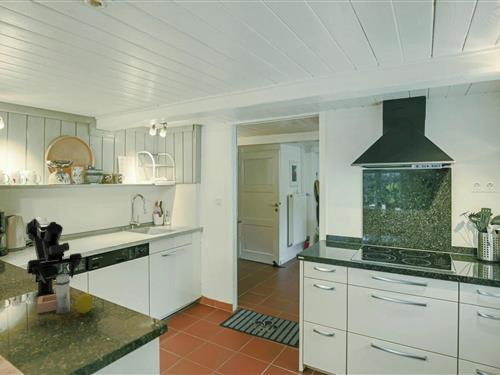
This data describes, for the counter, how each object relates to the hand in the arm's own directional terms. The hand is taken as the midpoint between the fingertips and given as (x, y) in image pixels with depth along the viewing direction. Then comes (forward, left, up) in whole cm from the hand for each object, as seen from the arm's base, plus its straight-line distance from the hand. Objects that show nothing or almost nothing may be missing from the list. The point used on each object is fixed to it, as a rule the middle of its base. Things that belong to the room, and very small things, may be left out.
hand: (59, 280), depth 122 cm
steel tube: (+5, +1, -11) cm, 12 cm away
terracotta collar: (-3, -3, -11) cm, 12 cm away
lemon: (+12, +8, -11) cm, 18 cm away
